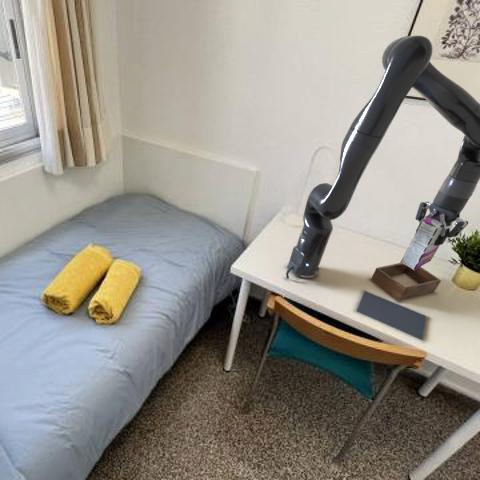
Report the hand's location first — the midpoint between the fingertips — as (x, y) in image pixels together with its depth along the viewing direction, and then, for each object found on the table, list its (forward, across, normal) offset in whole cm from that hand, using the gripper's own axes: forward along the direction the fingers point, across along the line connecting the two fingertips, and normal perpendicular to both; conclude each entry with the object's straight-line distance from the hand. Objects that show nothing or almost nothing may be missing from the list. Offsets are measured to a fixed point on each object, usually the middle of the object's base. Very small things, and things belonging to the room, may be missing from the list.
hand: (427, 239), depth 111 cm
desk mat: (+20, +10, -15) cm, 27 cm away
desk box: (+20, 0, 0) cm, 20 cm away
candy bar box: (+9, 0, 0) cm, 9 cm away
